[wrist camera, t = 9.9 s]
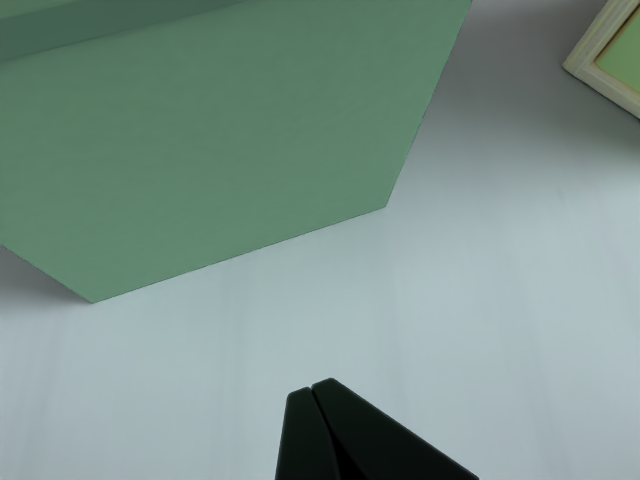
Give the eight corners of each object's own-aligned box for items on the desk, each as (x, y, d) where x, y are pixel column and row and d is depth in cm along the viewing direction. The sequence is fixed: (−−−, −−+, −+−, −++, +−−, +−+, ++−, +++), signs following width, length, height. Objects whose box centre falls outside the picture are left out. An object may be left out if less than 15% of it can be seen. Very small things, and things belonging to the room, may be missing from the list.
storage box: (395, 211, 21) (547, -109, 9) (85, 314, 19) (-313, 89, 6) (306, 18, 24) (323, -419, 12) (34, 87, 22) (-297, -355, 10)
